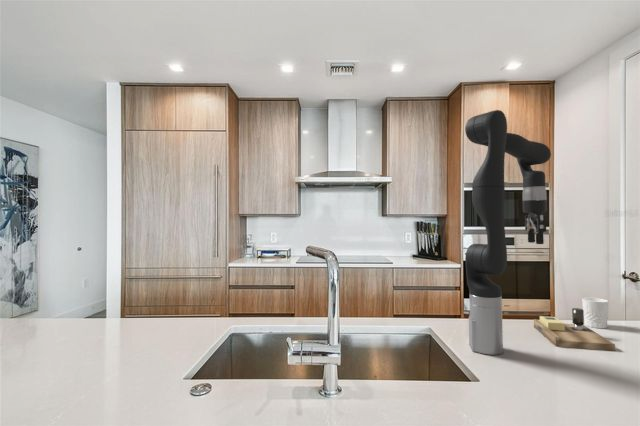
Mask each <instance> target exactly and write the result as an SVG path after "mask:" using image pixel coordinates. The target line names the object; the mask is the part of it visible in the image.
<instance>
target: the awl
mask: <svg viewBox="0 0 640 426" xmlns="http://www.w3.org/2000/svg"><path fill="white" fill-rule="evenodd" d="M571 310H572V311H571V313H572V318H571V320H572V321H571V322H572V324H574V331H583V325H584V326H585V324H584V310H583V308H577V307H572V308H571Z"/></svg>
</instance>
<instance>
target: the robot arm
mask: <svg viewBox="0 0 640 426" xmlns="http://www.w3.org/2000/svg"><path fill="white" fill-rule="evenodd" d="M507 120H508V119H507V116H506V115H505V113H504V112H503V111H502V110H501V109H500V110H499V109H495V110H491V111H487V112H483V113H481V114H478V115H475V116H472V117H470V118H469V119H468V120H467V121H466V123H465V128H464V131H465V135H466V138H467V139H468V141H470V142H471V143H474V144H475V145H480V146H484V147H487V152H486V156H485V158H484V160H483V161H482V164H481V166H480V167H479V169H478V171H477V172H476V174H475V176H474V178H473V181H472V185H471V187H472V190H471V201H472V205H473V208H474V210H475V212H476V214H477V215H478V217H479V218H480V220H481V222H482V224H483V225H484V227H485V228H484V229H485V232H486V238H487V244H486V243H472V244H471V245H469V246H468V247H467V249H466V253H465V262H464V263H465V274H466V275H465V276H466V284H467V286H468V291H469V293H468V294H469V295H468V296H469V315H468V345H469V347H470V349H471V351H472V352H474V353H475V352H476V353H479V354H484V355H491V356H493V355H494V356H495V355H501V354H503V353H504V341H503V339H504V338H503V337H504V335H503V333H504V332H503V300H502V299H503V297H502V296H503V293H502V287H501V286H500V285H499V284H497V283H495V282H494V281H492V280H491V279H490V278H489V277H488V275H495V276H499V275H500V276H501V275H502V274H503V273H504V272H505V270H506V269H507V265H508V250H507V249H508V248H507V240H506V229H505V196H506V195H505V191H506V190H505V187H506V186H505V159H506V154H508V155H510V157H511V156H512V157H514V158H515V159H516V161H517V164H518V166H519V169H520V172H521V176H522V212H523V213H528V215H525V216H524V220H525V221H524V225H525V226H524V227H525V229H524V230H525V232H527V242H528V243H535V244H536V245H544V242H545V240H544V234H545V233H546V232H547V216H546V214H542V213H545V212H547V211H548V206H547V203H548V201H547V200H548V199H547V198H548V196H547V189H546V173H545V172H544V171H542V170H533V168H532V166H535V165H542V164H543V165H544V164H546V163H547V162H548V161H549V160H550V159H551V157H552V156H551V155H552V153H551V149H550V148H549V146H548V145H547V144H545V143H542V142H538V141H534V140H533V141H532V140H528V139H527V138H525V137H524V136H522V135H520V134H516V133H511V132H508V122H507Z"/></svg>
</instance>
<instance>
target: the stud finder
mask: <svg viewBox="0 0 640 426" xmlns="http://www.w3.org/2000/svg"><path fill="white" fill-rule="evenodd" d="M539 322H541V323H542V324H543V325H544V326H546V327H547V328H548V329H549V330H561V331H565V324H566V323H564V322H563V321H562V320H560V319H559V318H557V317H555V316H542V315H539Z"/></svg>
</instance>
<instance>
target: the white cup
mask: <svg viewBox="0 0 640 426" xmlns="http://www.w3.org/2000/svg"><path fill="white" fill-rule="evenodd" d="M581 306H582V308H581V309H583V310H584V326H586V327H588V328H589V327H590V328H594V329H607V328H608V318H609V300H607V299H605V298H604V299H603V298H601V297H600V298H599V297H589V296H586V297H585V296H584V297H581Z"/></svg>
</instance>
